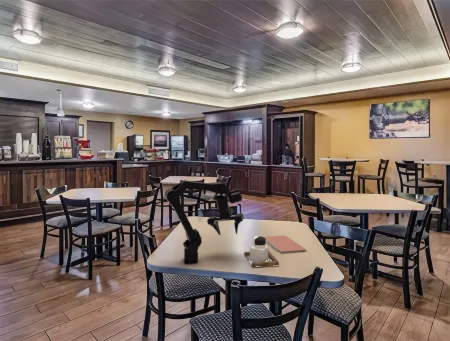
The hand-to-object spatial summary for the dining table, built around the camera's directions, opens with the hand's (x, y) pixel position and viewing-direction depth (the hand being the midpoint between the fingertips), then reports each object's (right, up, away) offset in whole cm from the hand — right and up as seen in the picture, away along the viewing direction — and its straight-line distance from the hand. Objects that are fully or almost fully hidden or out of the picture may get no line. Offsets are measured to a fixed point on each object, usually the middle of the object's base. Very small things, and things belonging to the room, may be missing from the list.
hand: (228, 234), depth 155 cm
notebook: (+33, -12, +21) cm, 41 cm away
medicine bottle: (+16, -12, -4) cm, 21 cm away
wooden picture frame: (+16, -13, -4) cm, 21 cm away
